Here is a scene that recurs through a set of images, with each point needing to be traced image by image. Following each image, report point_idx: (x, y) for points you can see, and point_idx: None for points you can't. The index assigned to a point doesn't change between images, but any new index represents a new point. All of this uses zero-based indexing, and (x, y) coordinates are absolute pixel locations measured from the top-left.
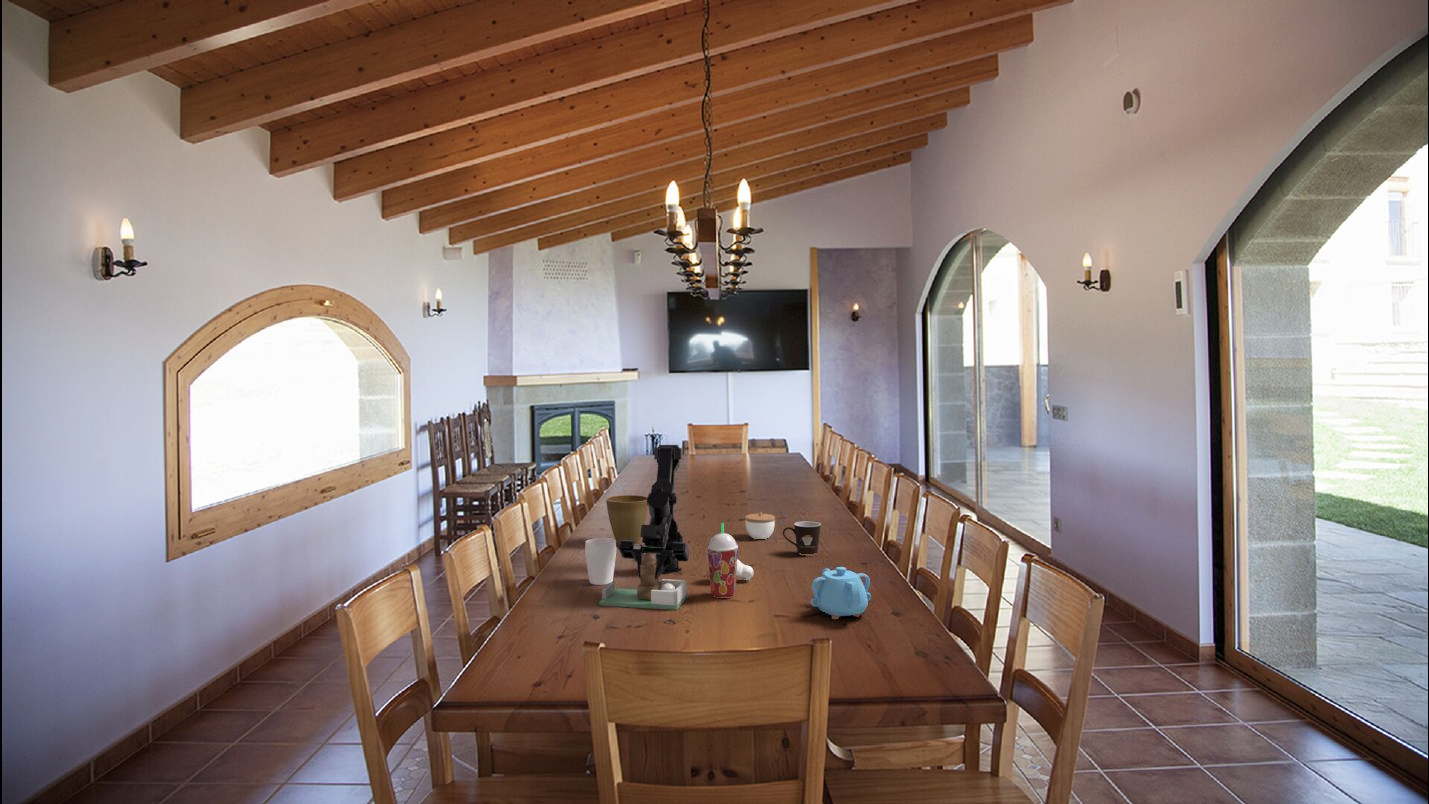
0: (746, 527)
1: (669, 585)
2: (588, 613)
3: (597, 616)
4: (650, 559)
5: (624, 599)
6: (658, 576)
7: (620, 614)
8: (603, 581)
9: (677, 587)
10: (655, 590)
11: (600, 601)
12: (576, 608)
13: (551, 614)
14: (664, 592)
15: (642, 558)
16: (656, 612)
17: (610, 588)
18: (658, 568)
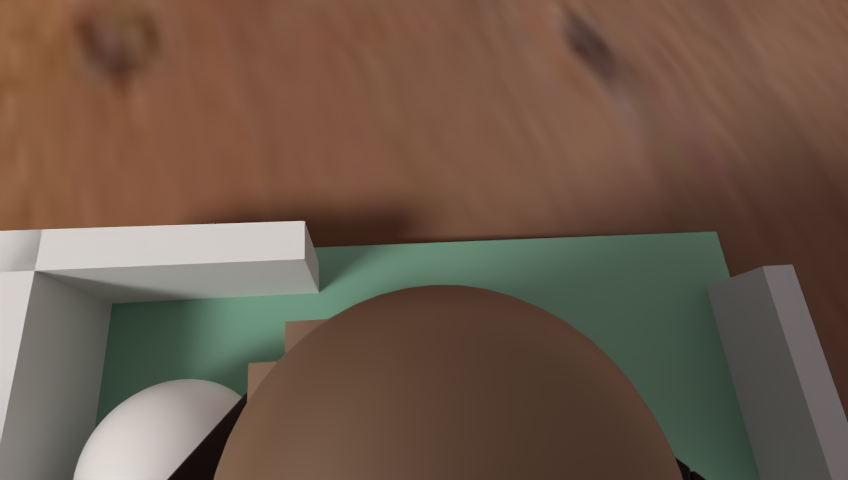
0: None
1: (116, 440)
2: (667, 93)
3: (590, 58)
4: (337, 318)
5: (574, 323)
6: None
7: (479, 109)
8: None
9: (3, 417)
10: (259, 241)
11: (711, 234)
12: (787, 158)
13: (832, 48)
14: (154, 230)
15: (613, 361)
16: (253, 187)
17: (787, 407)
18: (207, 474)
